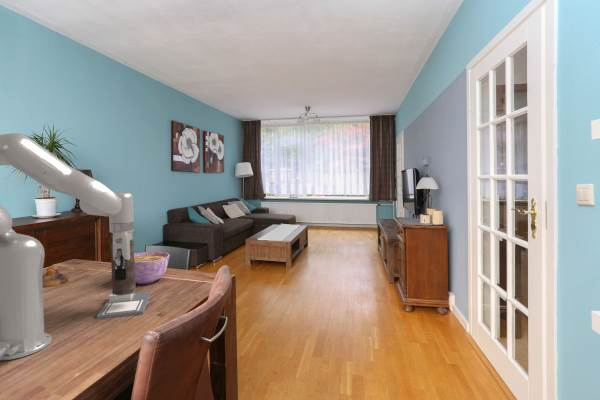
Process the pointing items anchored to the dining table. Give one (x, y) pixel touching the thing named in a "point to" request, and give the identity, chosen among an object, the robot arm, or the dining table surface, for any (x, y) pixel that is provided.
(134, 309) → the grey piece
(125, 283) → the brown cylinder
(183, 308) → the dining table surface
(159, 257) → the bowl of food
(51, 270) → the orange purple rounded piece
